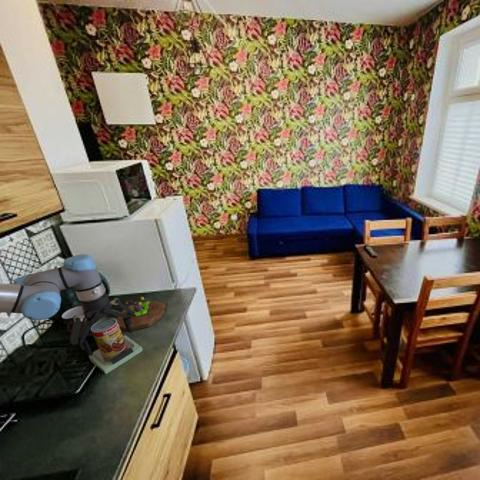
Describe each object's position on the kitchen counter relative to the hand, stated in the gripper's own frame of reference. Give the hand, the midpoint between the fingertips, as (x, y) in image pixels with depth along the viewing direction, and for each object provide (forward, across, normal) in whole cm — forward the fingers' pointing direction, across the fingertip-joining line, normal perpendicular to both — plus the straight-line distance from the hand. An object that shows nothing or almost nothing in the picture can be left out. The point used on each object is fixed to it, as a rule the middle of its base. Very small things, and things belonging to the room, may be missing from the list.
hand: (111, 342), depth 103 cm
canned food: (+4, 0, 0) cm, 4 cm away
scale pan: (+4, 0, 0) cm, 4 cm away
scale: (+7, 0, -1) cm, 7 cm away
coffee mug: (+7, -2, +29) cm, 30 cm away
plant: (+7, +18, +16) cm, 25 cm away
